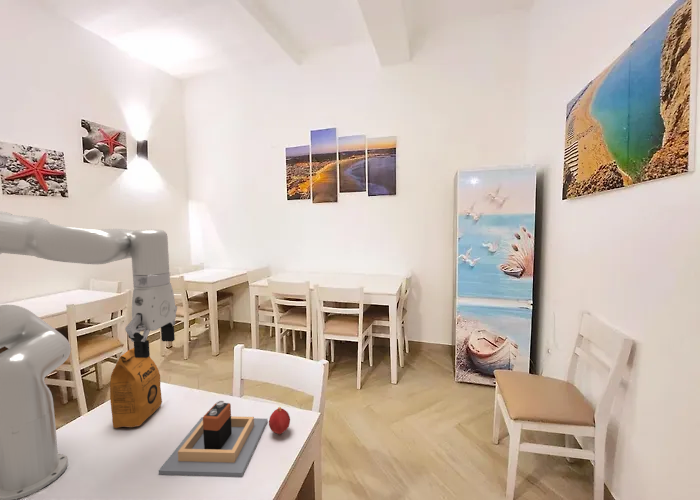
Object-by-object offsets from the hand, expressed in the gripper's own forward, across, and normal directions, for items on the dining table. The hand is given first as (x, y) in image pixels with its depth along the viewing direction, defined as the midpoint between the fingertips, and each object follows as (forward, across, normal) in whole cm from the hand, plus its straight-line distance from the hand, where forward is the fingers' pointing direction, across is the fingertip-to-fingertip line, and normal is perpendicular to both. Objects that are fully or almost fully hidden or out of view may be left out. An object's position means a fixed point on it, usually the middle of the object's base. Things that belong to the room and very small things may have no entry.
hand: (156, 348), depth 77 cm
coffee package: (+28, +15, +17) cm, 36 cm away
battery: (+28, +4, -13) cm, 31 cm away
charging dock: (+28, +4, -13) cm, 31 cm away
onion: (+28, +9, -28) cm, 41 cm away
